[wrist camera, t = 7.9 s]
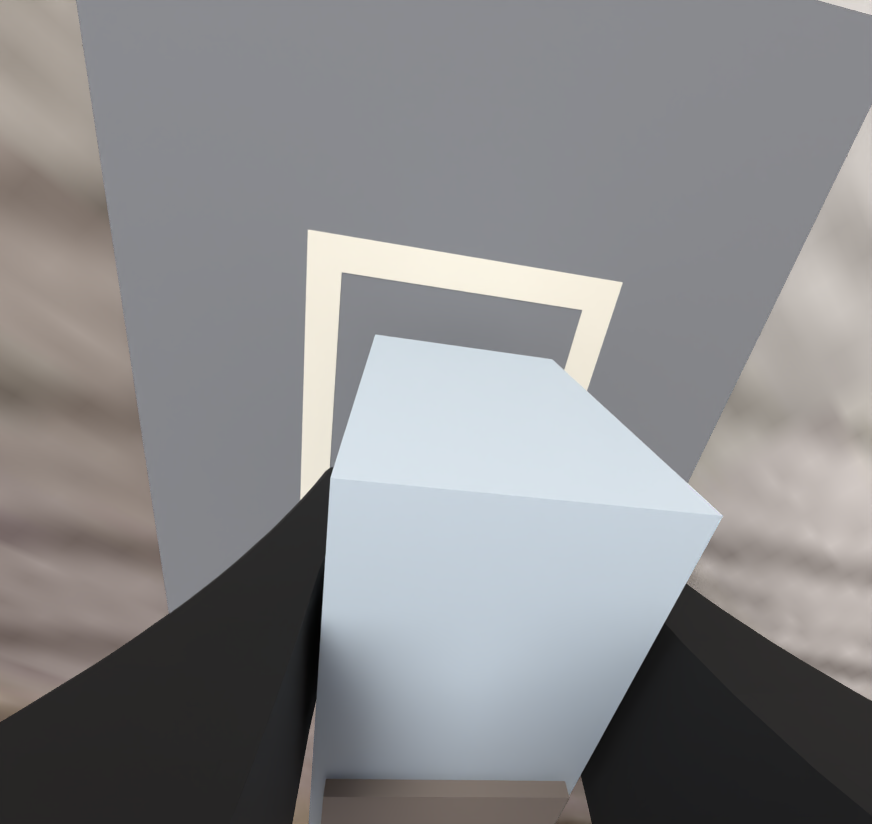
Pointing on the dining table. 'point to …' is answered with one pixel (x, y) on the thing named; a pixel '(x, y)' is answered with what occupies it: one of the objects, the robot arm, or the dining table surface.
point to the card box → (485, 587)
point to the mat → (445, 213)
